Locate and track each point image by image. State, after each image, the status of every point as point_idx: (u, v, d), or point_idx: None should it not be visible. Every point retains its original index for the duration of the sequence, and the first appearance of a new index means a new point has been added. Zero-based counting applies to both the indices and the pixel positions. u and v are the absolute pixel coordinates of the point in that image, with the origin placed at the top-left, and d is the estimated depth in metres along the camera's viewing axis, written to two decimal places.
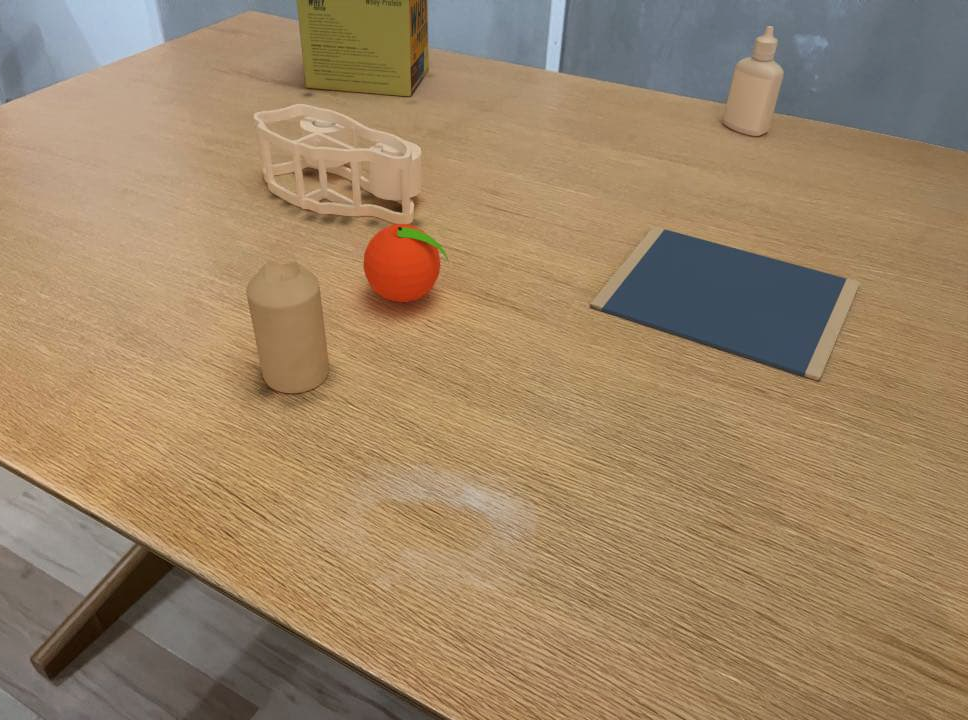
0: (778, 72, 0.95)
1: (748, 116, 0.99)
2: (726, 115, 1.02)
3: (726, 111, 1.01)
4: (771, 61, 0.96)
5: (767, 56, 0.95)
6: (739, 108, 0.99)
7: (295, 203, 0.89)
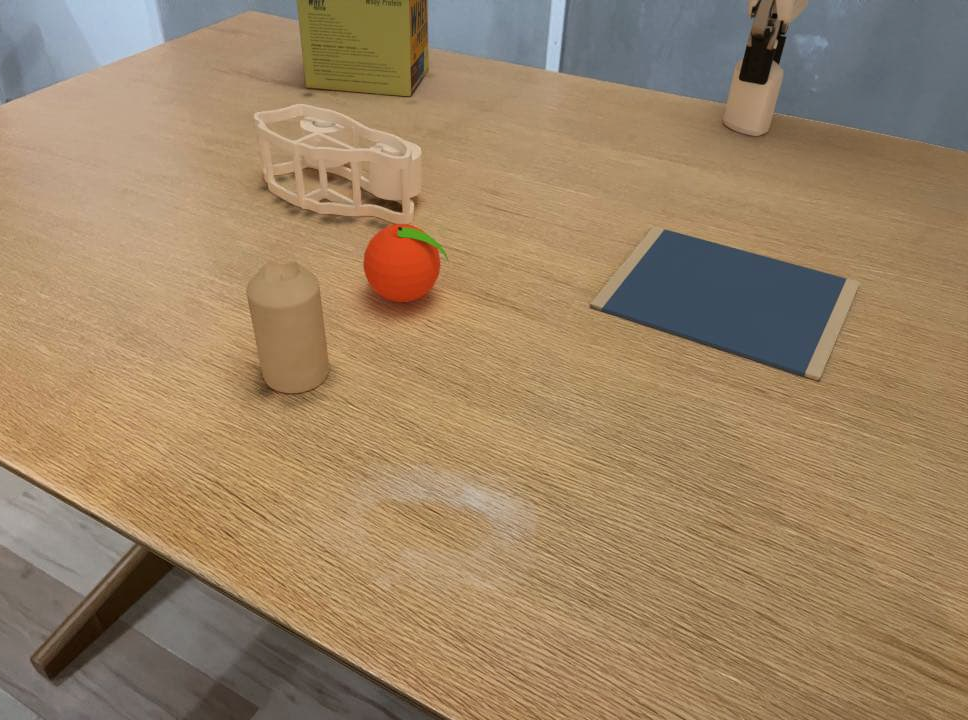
0: (778, 72, 0.95)
1: (748, 116, 0.99)
2: (726, 115, 1.02)
3: (726, 111, 1.01)
4: None
5: None
6: (739, 108, 0.99)
7: (295, 203, 0.89)
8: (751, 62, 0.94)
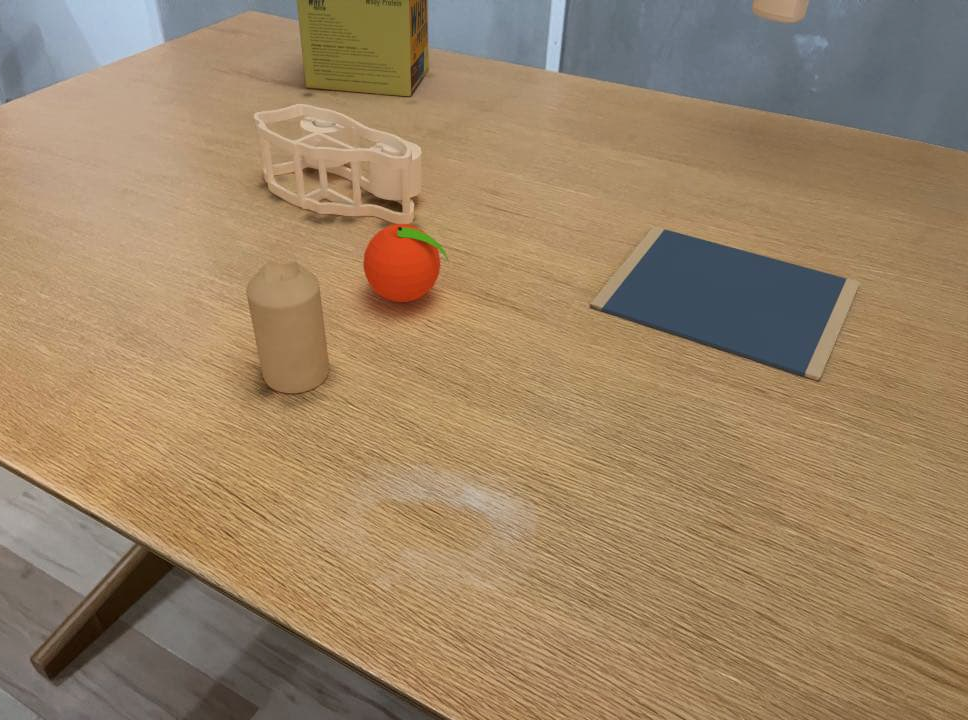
0: None
1: None
2: (755, 2, 0.89)
3: None
4: None
5: None
6: None
7: (295, 203, 0.89)
8: None
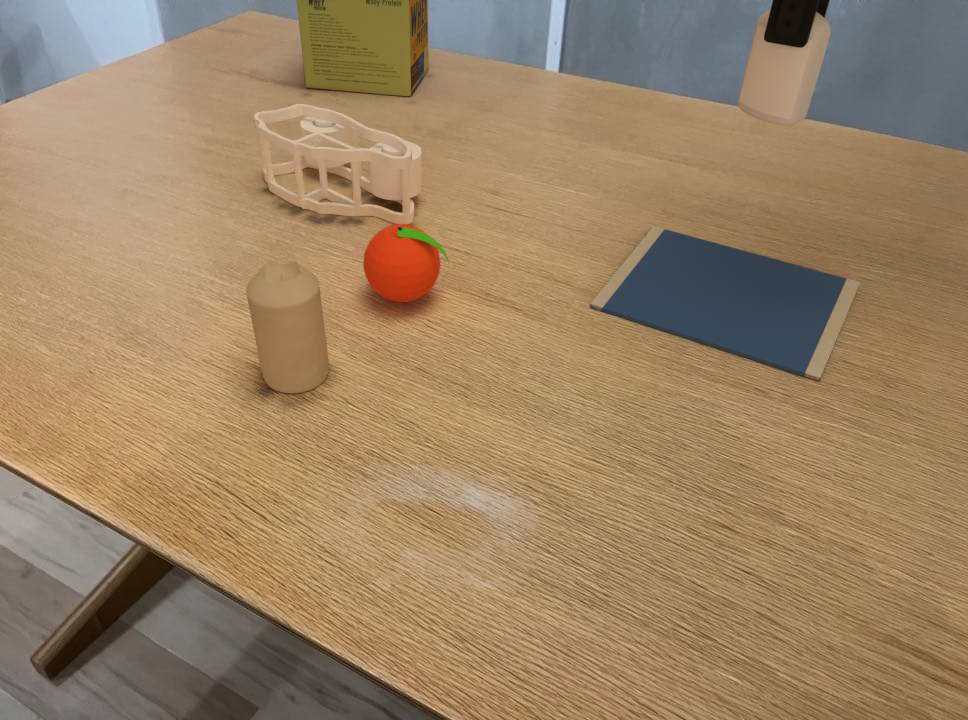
0: (823, 29, 0.63)
1: (775, 96, 0.67)
2: (743, 96, 0.69)
3: (743, 89, 0.69)
4: None
5: None
6: (762, 84, 0.67)
7: (295, 203, 0.89)
8: (783, 12, 0.62)
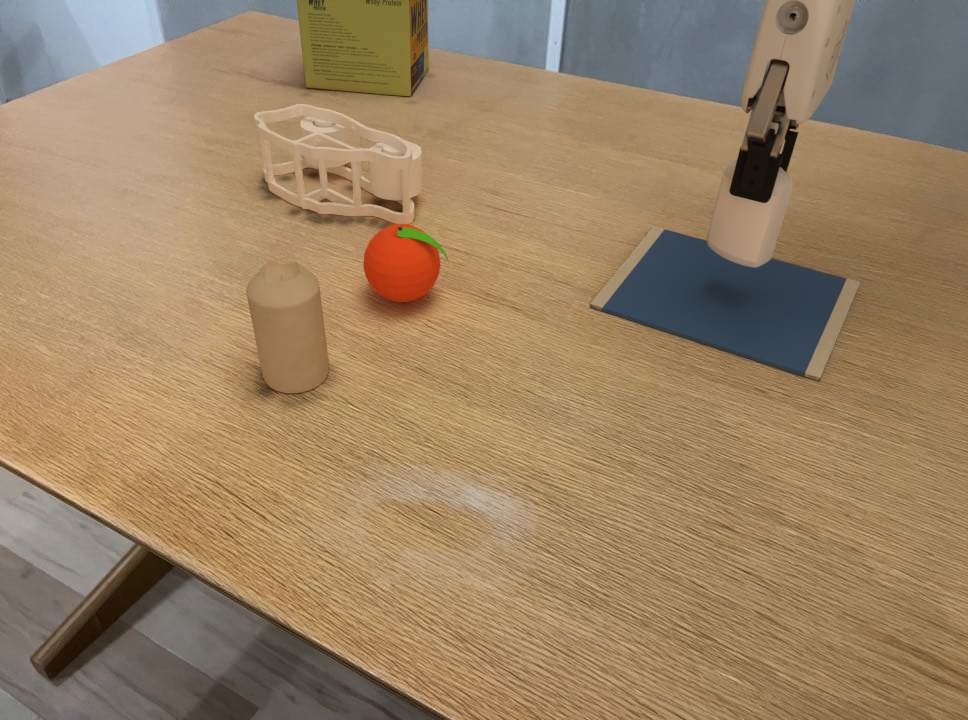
0: (786, 185, 0.66)
1: (742, 241, 0.69)
2: (711, 236, 0.72)
3: (711, 230, 0.72)
4: None
5: None
6: (729, 229, 0.70)
7: (295, 203, 0.89)
8: (747, 172, 0.64)
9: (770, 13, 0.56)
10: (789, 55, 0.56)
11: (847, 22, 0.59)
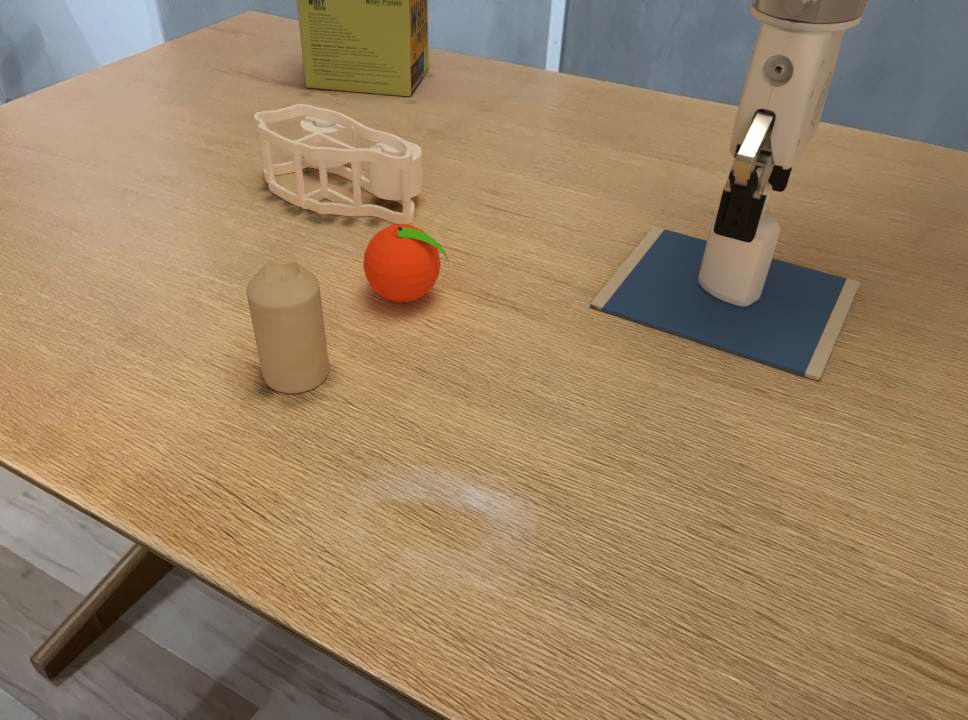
0: (773, 230, 0.68)
1: (731, 282, 0.72)
2: (702, 275, 0.75)
3: (702, 270, 0.75)
4: (763, 213, 0.69)
5: None
6: (719, 270, 0.73)
7: (295, 203, 0.89)
8: (730, 213, 0.64)
9: (757, 66, 0.58)
10: (775, 106, 0.59)
11: (831, 72, 0.61)
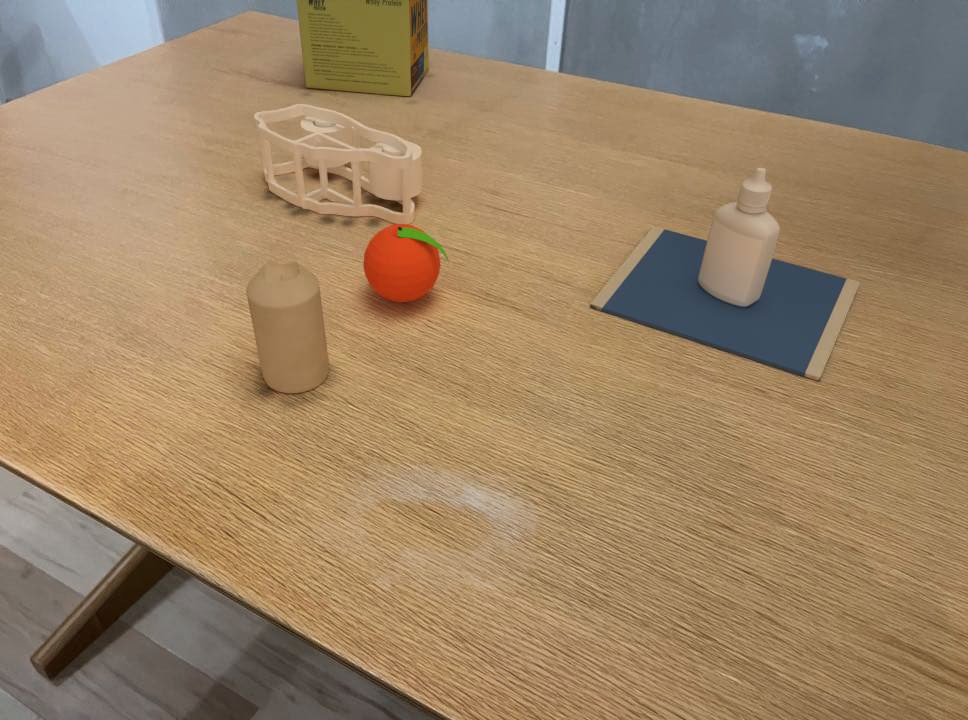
0: (773, 230, 0.68)
1: (731, 282, 0.72)
2: (702, 275, 0.75)
3: (702, 270, 0.75)
4: (763, 213, 0.69)
5: (758, 208, 0.68)
6: (719, 270, 0.73)
7: (296, 203, 0.89)
8: None
9: None
10: None
11: None
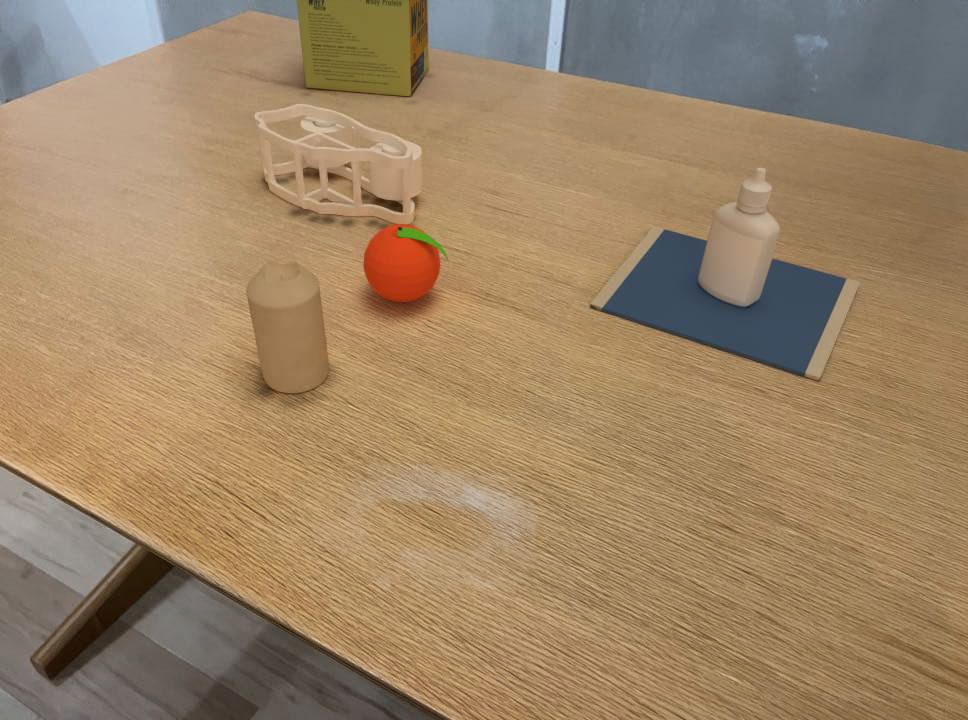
0: (773, 230, 0.68)
1: (731, 282, 0.72)
2: (702, 275, 0.75)
3: (702, 270, 0.75)
4: (763, 213, 0.69)
5: (758, 208, 0.68)
6: (719, 270, 0.73)
7: (296, 203, 0.89)
8: None
9: None
10: None
11: None
